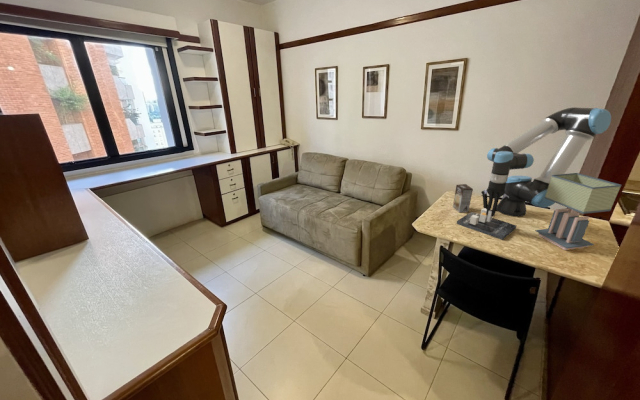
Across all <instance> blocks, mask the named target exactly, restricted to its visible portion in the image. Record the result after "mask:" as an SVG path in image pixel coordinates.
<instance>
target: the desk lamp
mask: <svg viewBox="0 0 640 400" xmlns="http://www.w3.org/2000/svg"><path fill="white" fill-rule="evenodd" d="M621 187H622V184H619V183H616V182H611V181H608V180H605V179H601V178H597V177H594V176H590V175H586V174H582V173H578V172H572V173H565V174H559V175H552V177H551V180H550V183H549V186H548V189H547V192H546V196H545V199H547V200H550V201H552V202H555V203H556V204H558V205H560V206H563V207H565V208H557V209H555V210H553V212H552V216H551V219H550V222H549V225H548V227H547V228H543V229H535V230H534V231H535V232H536V233H538V236H539V237H541V238H542V239H544V240H546V241H548V242H550V243H552V244H553V245H555V246H557V247H558V248H560V249H562V250H564V251H568V249H571V250H576V249H575V248H579V249H584V248H583V247H587V248H588V247H589V246H590V247H591V246H594V245H595V243H592V242H591V241H588V240H587V239H585V238H584V235H585V233H586V230H587V228H588V226H589V223H590V220H589V219H590V216H588V215H586V214H593V213H602V212H604V213H605V212H611V211H612V207H613V206H614V202H615V201H616V198H617V196H618V193H619V191H620V189H621ZM555 203H554V204H555ZM569 210H570V211H569ZM580 214H583V215H584V214H585V215H586V216H585V215H584V216H580Z"/></svg>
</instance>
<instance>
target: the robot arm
mask: <svg viewBox="0 0 640 400" xmlns="http://www.w3.org/2000/svg"><path fill="white" fill-rule="evenodd" d="M611 122H612V114H611V112H610V111H609V110H607V109H605V108H599V107H594V108H593V107H591V108H590V107H568V108H565V109H561V110H559V111H556V112H554V113H552V114H550V115H548V116H546V117H545V118H543V119H542V120H540V123H538V124H536V125H535V126H534V127H531V128H530V129H529V130H527V131H525V132H523V133H522V134H521V135H519V136H517V137H516V138H514V139H512V140H510V141H509V142H508V143H505V144H504V145H502V146H501V147H499V148H498V147H496V148H494V147H493V148H490V149H489V150H488V152H487V155H486V158H487V160H488V161H491V162H492V166H491V167H492V169H491V173H490V177H489V181H488V187H487V189H483V190H482V191H481V196H482V204H483V208H485V209H487V212H486V215H488V216H487V222H490V221H491V220H492V218H494V217H495V216H496V213H497V212H498V213H501V214H503V215H506V216H509V217H524V216H526V215H527V206H526V203H528V204H530V205H532V206H534V207H539V208H544V209H545V208H548V207H550V206H553V205H554V204H555V202H552V201H550V200H547V199H545V196H546V192H547V189H548V186H549V183H550V180H551V177H552V175H559V174H566V172H567V171H568V170H569V168H570V167H571V165H572V163H573V162H574V161H575V159H576V158H577V156H578V155H579V154H580V152H581V151H582V149H583V147H584V146H585V145H586V144H587V142H588V141H589V140H593V139H594V137H596V135H599V134H603V133H605V131H607V130H608V129H609V127H610V125H611ZM559 131H564V133H565V137H564V138H563V140H562V142H561V143H560V145H559V146H558V147H557V150H556V151H555V153H554V154H553V156H552V157H551V159H550V160H549V161H548V163H547V165H546V167H544V169H543V170H542V172H541V174H540V175H539V176H537V177H535V178H534V179H533V177H531V176H527V175H511V176H509V173H510V170H511V171H512V170H520V169H521V170H523V169H527V168H530V167H531V166H533V164H534V162H535V161H534V160H535V159H534V157H533V155H532V154H531V153H521V151H524V150H526V149H527V148H529V147H530V146H533V144H535V143H536V142H539V141H540V140H542V139H544V138H546V137H547V136H548V135H550V134H555V133H557V132H559ZM501 197H502V198H501ZM500 198H501V200H500Z"/></svg>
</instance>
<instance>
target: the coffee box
mask: <svg viewBox="0 0 640 400" xmlns="http://www.w3.org/2000/svg"><path fill="white" fill-rule="evenodd" d="M473 191H474V190H473V187H471V186H469V185H468V184H466V183H464V184H463V183H462V184H461V183H460V184H456V186H455V193H454V198H453V203H452V208H454V209H455V210H456V211H457V212H458V213H469V211H470V205H471V201H472V195H473Z"/></svg>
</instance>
